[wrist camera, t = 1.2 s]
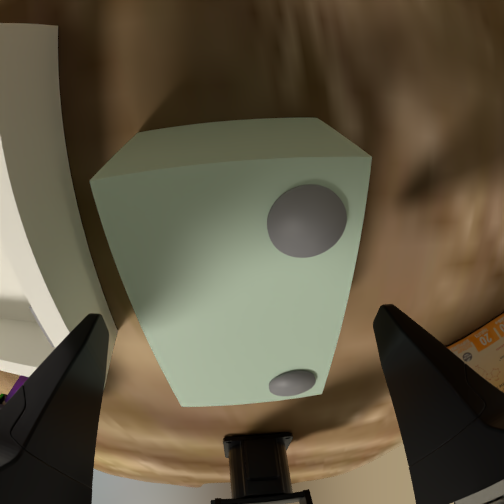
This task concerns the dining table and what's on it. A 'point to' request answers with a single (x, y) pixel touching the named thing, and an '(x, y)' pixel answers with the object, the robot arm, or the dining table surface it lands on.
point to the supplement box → (485, 351)
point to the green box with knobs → (237, 251)
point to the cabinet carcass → (39, 209)
